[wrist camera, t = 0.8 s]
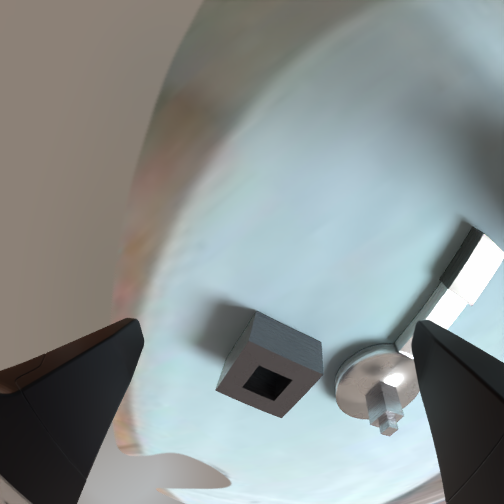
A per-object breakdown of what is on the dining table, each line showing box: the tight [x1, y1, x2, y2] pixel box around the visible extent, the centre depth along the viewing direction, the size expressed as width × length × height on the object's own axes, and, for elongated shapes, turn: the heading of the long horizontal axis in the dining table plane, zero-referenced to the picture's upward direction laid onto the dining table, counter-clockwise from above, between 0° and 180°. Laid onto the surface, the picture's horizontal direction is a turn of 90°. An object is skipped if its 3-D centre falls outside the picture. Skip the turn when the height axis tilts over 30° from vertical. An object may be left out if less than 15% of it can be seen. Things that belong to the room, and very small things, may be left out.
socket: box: [216, 311, 323, 418], centre depth 23 cm, size 6×6×4 cm
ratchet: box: [335, 227, 504, 436], centre depth 20 cm, size 8×20×6 cm, turn 153°
